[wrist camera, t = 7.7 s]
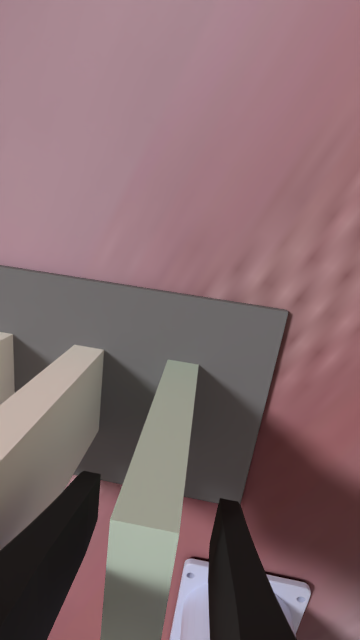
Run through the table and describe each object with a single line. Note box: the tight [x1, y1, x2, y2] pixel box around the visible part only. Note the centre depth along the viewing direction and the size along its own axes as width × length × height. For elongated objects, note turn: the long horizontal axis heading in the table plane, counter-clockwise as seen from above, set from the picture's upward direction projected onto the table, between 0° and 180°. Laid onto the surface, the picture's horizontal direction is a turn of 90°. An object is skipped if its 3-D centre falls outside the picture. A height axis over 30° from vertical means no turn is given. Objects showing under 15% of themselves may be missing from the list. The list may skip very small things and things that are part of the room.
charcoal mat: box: [0, 265, 288, 504], centre depth 17 cm, size 12×29×1 cm, turn 82°
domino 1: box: [0, 345, 104, 550], centre depth 12 cm, size 2×5×9 cm, turn 172°
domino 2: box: [100, 360, 199, 640], centre depth 12 cm, size 2×5×9 cm, turn 173°
